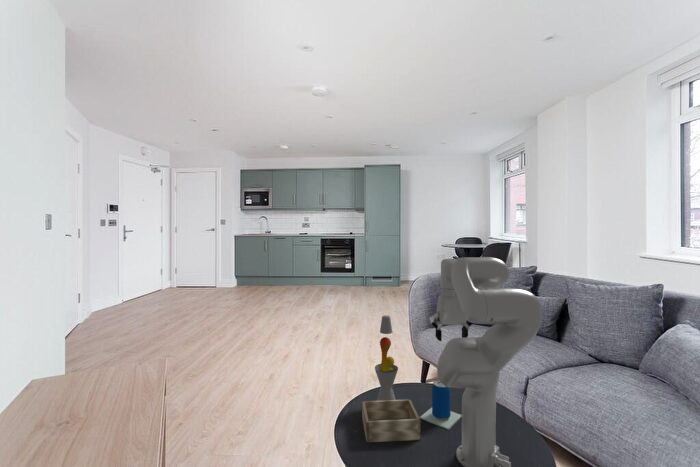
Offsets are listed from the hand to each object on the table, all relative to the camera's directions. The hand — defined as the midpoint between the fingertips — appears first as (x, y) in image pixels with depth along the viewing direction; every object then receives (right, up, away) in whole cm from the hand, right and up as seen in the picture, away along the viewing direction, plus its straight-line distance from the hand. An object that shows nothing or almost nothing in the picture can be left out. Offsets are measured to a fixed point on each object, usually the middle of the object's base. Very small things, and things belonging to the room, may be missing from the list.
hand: (451, 339), depth 127 cm
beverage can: (-4, -28, -1) cm, 28 cm away
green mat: (-4, -28, -1) cm, 28 cm away
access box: (-24, -28, -8) cm, 38 cm away
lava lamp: (-23, -28, +7) cm, 37 cm away
